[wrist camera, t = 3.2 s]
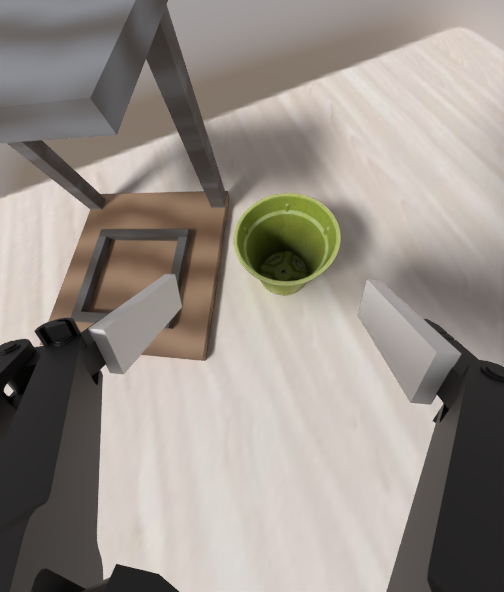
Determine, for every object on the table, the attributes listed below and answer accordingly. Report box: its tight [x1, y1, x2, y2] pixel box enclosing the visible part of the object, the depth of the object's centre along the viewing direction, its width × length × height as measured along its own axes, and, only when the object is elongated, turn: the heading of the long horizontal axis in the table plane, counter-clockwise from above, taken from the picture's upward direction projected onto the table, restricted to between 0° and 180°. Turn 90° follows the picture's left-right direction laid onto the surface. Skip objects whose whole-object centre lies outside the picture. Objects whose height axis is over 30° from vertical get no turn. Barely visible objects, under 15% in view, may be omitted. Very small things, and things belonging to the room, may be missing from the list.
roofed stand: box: [0, 0, 229, 361], centre depth 20 cm, size 24×22×20 cm
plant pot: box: [234, 193, 341, 295], centre depth 22 cm, size 9×9×9 cm
